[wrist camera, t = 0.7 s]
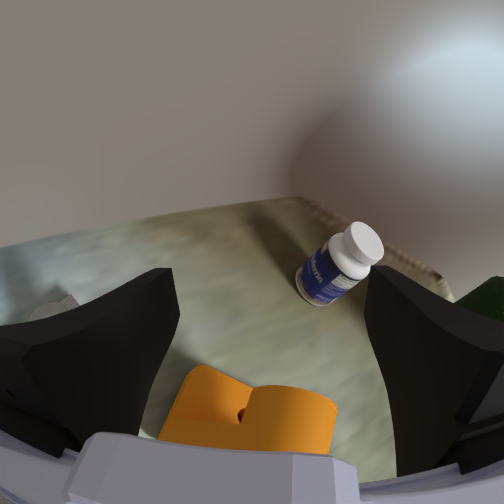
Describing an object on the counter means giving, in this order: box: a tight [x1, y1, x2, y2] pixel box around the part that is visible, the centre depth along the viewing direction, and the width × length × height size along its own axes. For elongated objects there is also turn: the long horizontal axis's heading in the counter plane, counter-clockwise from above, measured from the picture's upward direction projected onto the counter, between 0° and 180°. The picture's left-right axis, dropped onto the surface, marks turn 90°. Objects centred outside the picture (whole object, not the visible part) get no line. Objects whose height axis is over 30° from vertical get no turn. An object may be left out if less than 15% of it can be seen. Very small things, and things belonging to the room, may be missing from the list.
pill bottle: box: [295, 222, 384, 306], centre depth 34 cm, size 6×6×10 cm
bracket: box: [157, 365, 338, 454], centre depth 19 cm, size 11×7×12 cm, turn 71°
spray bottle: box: [454, 276, 504, 322], centre depth 29 cm, size 10×10×25 cm
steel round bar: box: [27, 302, 72, 322], centre depth 17 cm, size 4×4×7 cm
